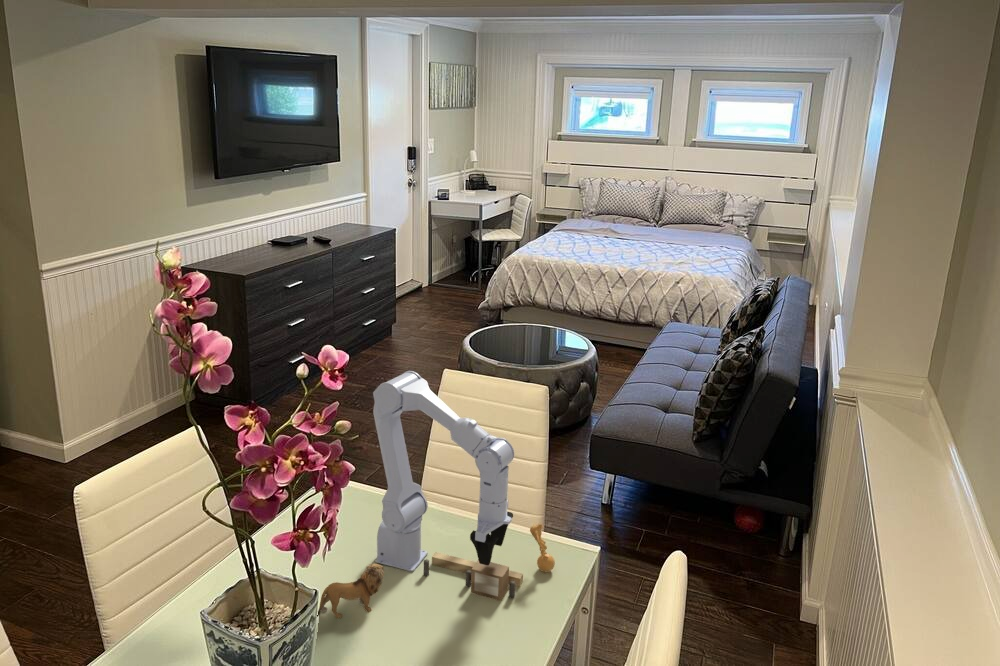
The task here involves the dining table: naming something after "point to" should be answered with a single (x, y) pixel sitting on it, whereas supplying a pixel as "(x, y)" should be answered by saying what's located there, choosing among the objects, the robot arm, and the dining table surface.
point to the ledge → (468, 569)
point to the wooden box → (490, 580)
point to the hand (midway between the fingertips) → (490, 553)
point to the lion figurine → (354, 590)
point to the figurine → (542, 550)
